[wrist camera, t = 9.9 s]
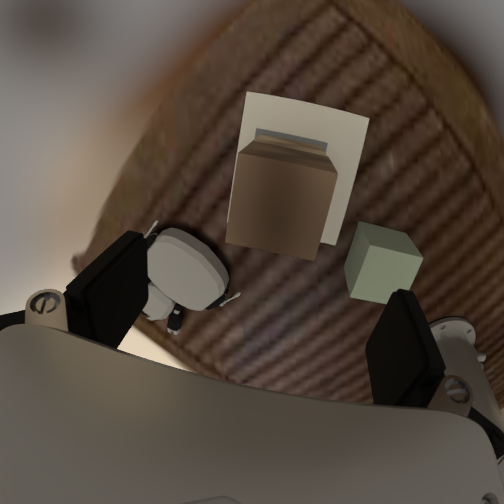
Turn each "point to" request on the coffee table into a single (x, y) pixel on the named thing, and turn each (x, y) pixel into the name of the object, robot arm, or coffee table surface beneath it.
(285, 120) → the board
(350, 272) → the sage block
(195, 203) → the coffee table surface
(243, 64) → the coffee table surface
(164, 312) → the robot toy
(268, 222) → the walnut block
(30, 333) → the robot arm
